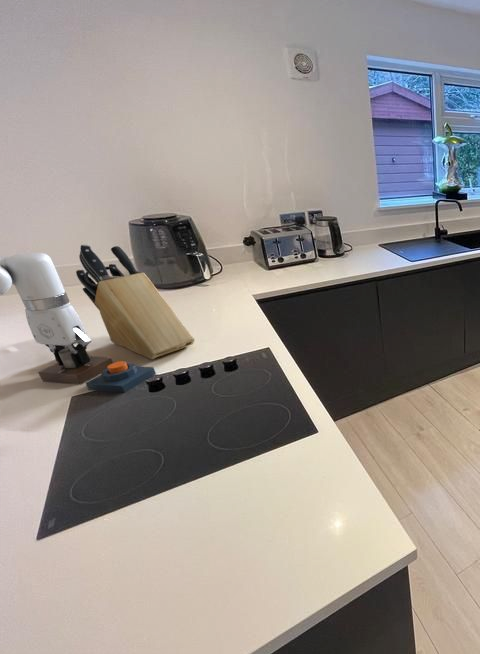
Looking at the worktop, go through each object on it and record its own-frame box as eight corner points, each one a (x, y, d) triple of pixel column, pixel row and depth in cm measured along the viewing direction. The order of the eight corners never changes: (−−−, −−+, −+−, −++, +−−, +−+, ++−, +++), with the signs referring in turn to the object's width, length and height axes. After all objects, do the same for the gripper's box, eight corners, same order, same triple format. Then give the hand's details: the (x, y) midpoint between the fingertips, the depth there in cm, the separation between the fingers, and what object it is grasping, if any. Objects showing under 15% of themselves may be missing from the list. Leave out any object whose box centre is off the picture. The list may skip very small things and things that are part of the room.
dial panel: (42, 381, 106) (37, 371, 105) (79, 364, 114) (74, 354, 113) (80, 384, 105) (76, 374, 104) (114, 366, 113) (110, 357, 112)
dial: (60, 367, 107) (53, 352, 105) (76, 360, 110) (69, 345, 109) (74, 368, 106) (67, 353, 105) (90, 361, 110) (83, 345, 108)
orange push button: (105, 373, 104) (103, 367, 103) (119, 366, 107) (117, 360, 107) (118, 374, 104) (116, 368, 103) (131, 367, 107) (129, 361, 106)
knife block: (139, 323, 139) (107, 236, 127) (198, 347, 125) (168, 251, 113) (97, 336, 129) (58, 243, 117) (155, 363, 115) (118, 261, 103)
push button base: (88, 390, 103) (82, 377, 101) (122, 371, 111) (117, 359, 110) (124, 393, 102) (119, 379, 101) (156, 374, 111) (151, 361, 109)
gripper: (-2, 305, 98) (30, 368, 105) (60, 309, 97) (89, 373, 104) (34, 294, 105) (62, 354, 112) (92, 298, 104) (117, 358, 111)
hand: (74, 363), depth 108 cm, fingers closed on dial, 4 cm apart
